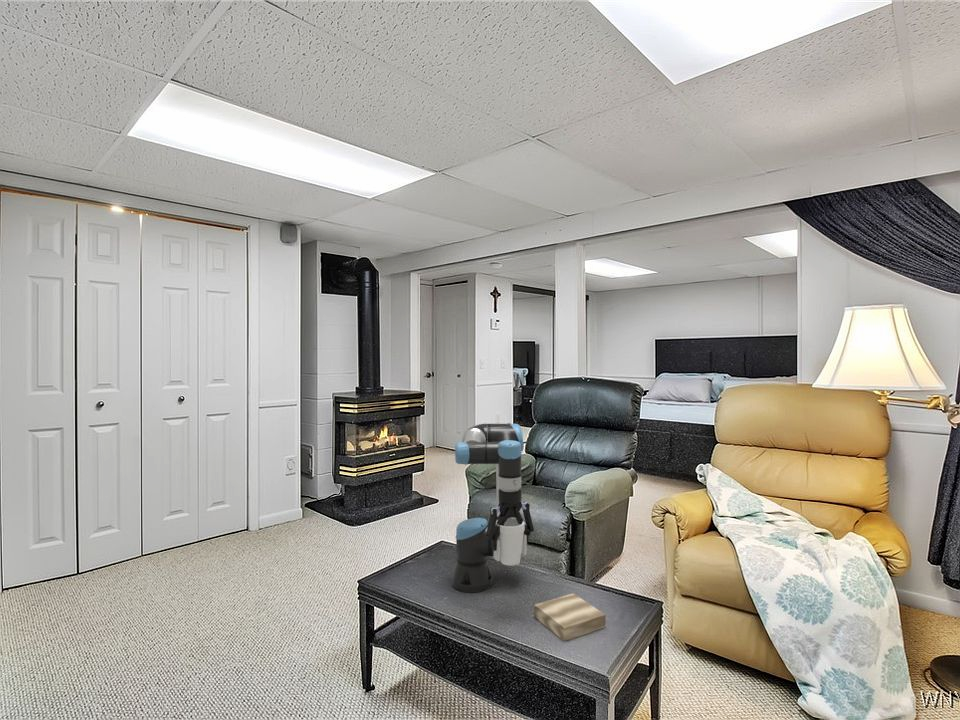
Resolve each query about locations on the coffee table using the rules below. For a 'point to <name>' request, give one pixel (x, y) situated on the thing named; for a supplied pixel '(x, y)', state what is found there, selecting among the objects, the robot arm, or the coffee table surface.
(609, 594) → the coffee table surface
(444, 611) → the coffee table surface
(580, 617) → the wooden base
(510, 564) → the foam cup
